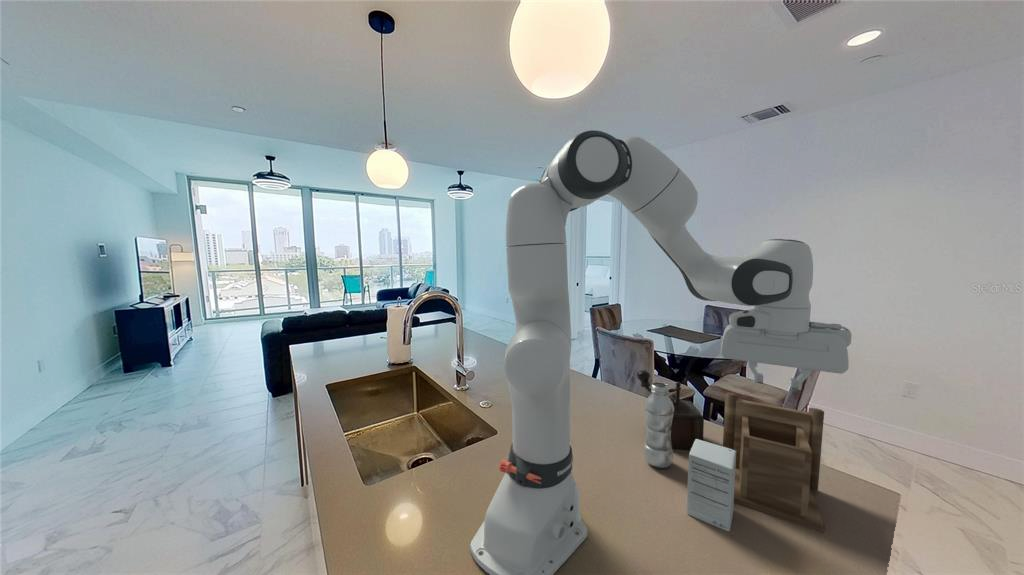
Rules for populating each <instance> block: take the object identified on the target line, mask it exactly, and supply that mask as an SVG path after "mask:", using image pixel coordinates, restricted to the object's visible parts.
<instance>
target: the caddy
mask: <svg viewBox="0 0 1024 575" xmlns="http://www.w3.org/2000/svg"><path fill="white" fill-rule="evenodd" d="M738 395H739V394H736V393H733V392H725V394H724V396H725V397H724V399H725V400H724V418H723V435H722V437H723V438H722V446H723V447H726V448H729V449H732V450H735V451H736V466H735V486H734V504H735V503H736V504H738V505H742V506H745V507H747V508H750V509H753V510H756V511H759V512H762V513H765V514H768V515H771V516H773V517H774V516H775V517H777V518H780V519H783V520H786V521H788V522H792V523H795V524H798V525H800V526H804V527H806V528H810V529H813V530H816V531H819V532H821V533H825V531H826V527H825V524H824V522H823V518H822V515H821V512H820V508H819V507H818V504H817V500H816V497H815V495H817V494H818V493H819V481H820V472H821V471H820V470H821V469H820V468H821V467H820V466H821V458H822V456H821V455H822V446H823V445H822V444H823V432H824V431H823V430H824V419H825V411H824V410H822V409H820V408H817V407H808V411H804V410H799V409H795V408H794V409H793V408H789V407H788V408H787V407H783V406H777V405H773V404H767V403H762V402H758V401H757V402H756V401H752V400H745V399H741V398H738Z"/></svg>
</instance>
